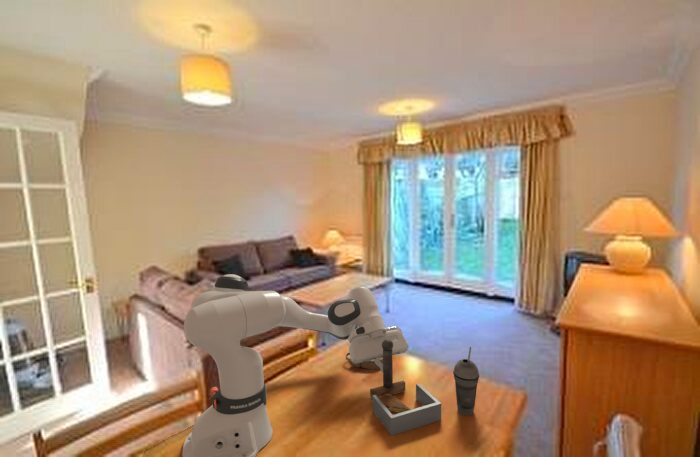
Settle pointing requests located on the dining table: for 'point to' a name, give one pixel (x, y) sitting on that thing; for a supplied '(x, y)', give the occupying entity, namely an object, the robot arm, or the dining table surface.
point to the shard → (393, 403)
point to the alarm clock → (365, 363)
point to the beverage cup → (466, 385)
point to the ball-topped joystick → (388, 374)
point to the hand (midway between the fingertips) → (386, 370)
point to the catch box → (409, 413)
